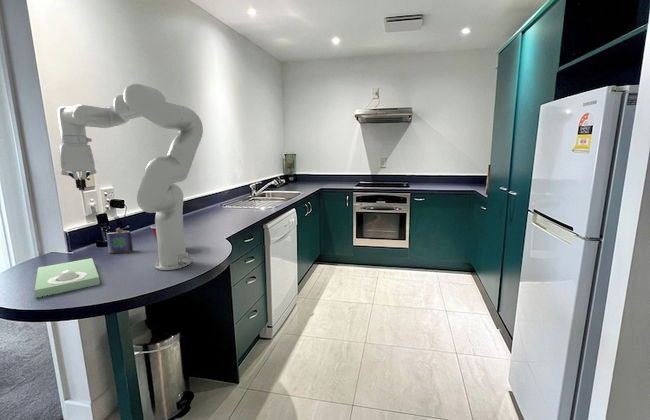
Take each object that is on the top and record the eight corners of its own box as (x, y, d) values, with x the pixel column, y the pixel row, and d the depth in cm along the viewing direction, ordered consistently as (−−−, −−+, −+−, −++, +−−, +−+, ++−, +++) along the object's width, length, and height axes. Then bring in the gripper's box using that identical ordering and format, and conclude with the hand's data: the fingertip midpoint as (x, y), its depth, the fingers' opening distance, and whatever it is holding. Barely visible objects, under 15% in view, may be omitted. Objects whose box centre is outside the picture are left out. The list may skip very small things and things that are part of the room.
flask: (108, 253, 141) (105, 229, 139) (110, 252, 144) (107, 228, 142) (132, 251, 144) (129, 228, 142) (133, 249, 146) (131, 226, 145)
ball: (80, 273, 107) (80, 272, 111) (62, 268, 105) (63, 267, 109) (72, 288, 105) (72, 287, 109) (54, 283, 103) (55, 282, 107)
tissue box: (39, 274, 118) (37, 267, 117) (92, 264, 128) (92, 257, 127) (36, 298, 98) (34, 289, 97) (100, 284, 108) (98, 276, 107)
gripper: (97, 141, 129) (103, 187, 132) (48, 141, 120) (56, 190, 123) (99, 141, 123) (106, 189, 127) (48, 140, 114) (56, 192, 117)
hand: (81, 189), depth 125 cm, fingers closed
